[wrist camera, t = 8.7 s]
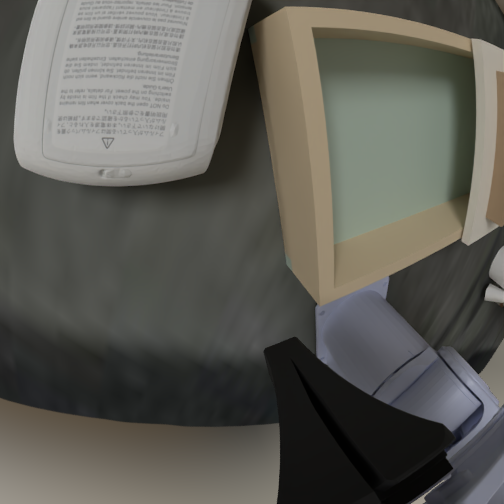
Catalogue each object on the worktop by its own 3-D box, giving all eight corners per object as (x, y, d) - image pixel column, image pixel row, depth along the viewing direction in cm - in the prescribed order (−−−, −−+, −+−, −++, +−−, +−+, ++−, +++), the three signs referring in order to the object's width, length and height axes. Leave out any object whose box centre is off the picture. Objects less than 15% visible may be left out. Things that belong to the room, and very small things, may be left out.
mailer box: (480, 189, 26) (512, 207, 22) (286, 264, 21) (319, 306, 17) (483, 55, 17) (522, 62, 13) (247, 28, 13) (285, 6, 9)
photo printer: (68, -31, 7) (33, 172, 13) (50, -61, 4) (3, 198, 9) (246, -20, 11) (205, 176, 16) (276, -47, 7) (222, 202, 13)
